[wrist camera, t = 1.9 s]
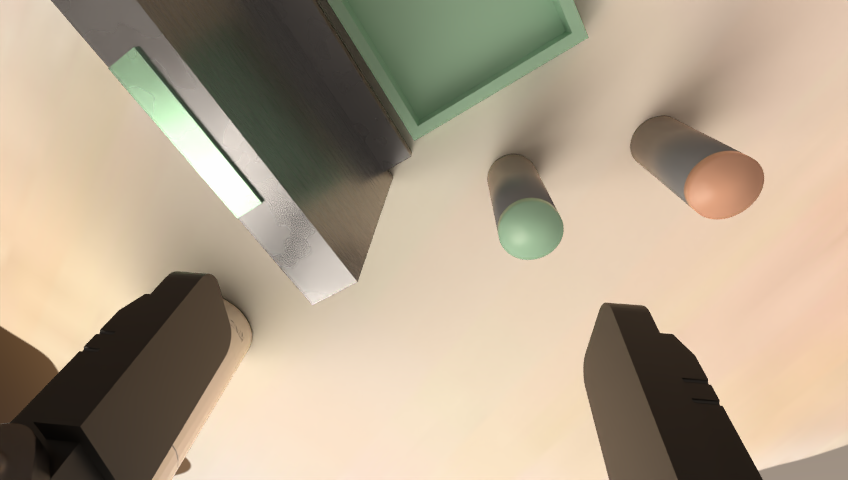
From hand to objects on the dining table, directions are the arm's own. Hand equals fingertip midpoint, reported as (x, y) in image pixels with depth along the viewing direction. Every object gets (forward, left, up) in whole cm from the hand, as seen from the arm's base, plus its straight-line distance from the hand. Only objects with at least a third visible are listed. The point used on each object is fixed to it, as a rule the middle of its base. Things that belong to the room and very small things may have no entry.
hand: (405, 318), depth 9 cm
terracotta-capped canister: (+13, -12, -28) cm, 33 cm away
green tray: (+4, +5, -28) cm, 29 cm away
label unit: (-8, +6, -28) cm, 30 cm away
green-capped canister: (+2, -9, -28) cm, 29 cm away
